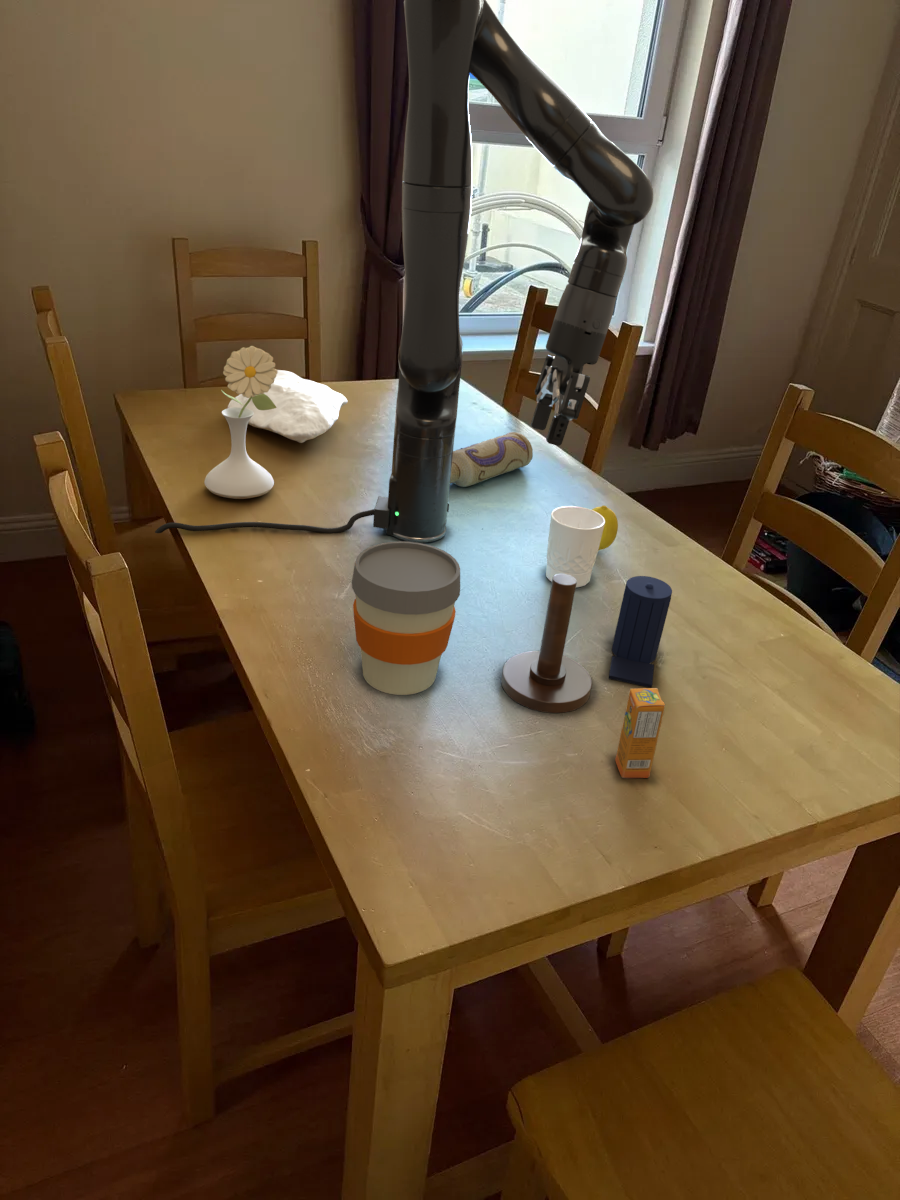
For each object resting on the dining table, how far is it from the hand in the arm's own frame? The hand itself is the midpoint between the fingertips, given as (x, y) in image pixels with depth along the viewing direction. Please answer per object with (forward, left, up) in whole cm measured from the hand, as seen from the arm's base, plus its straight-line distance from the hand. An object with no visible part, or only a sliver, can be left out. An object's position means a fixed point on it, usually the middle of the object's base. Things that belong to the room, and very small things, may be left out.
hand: (545, 436), depth 129 cm
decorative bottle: (-10, +30, -20) cm, 38 cm away
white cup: (+6, -5, -20) cm, 22 cm away
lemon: (+11, +5, -20) cm, 24 cm away
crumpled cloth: (-47, +46, -20) cm, 69 cm away
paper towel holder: (+2, -34, -20) cm, 39 cm away
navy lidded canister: (+14, -26, -20) cm, 36 cm away
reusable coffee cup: (-16, -35, -20) cm, 43 cm away
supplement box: (+11, -48, -20) cm, 53 cm away
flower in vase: (-48, +12, -20) cm, 53 cm away
